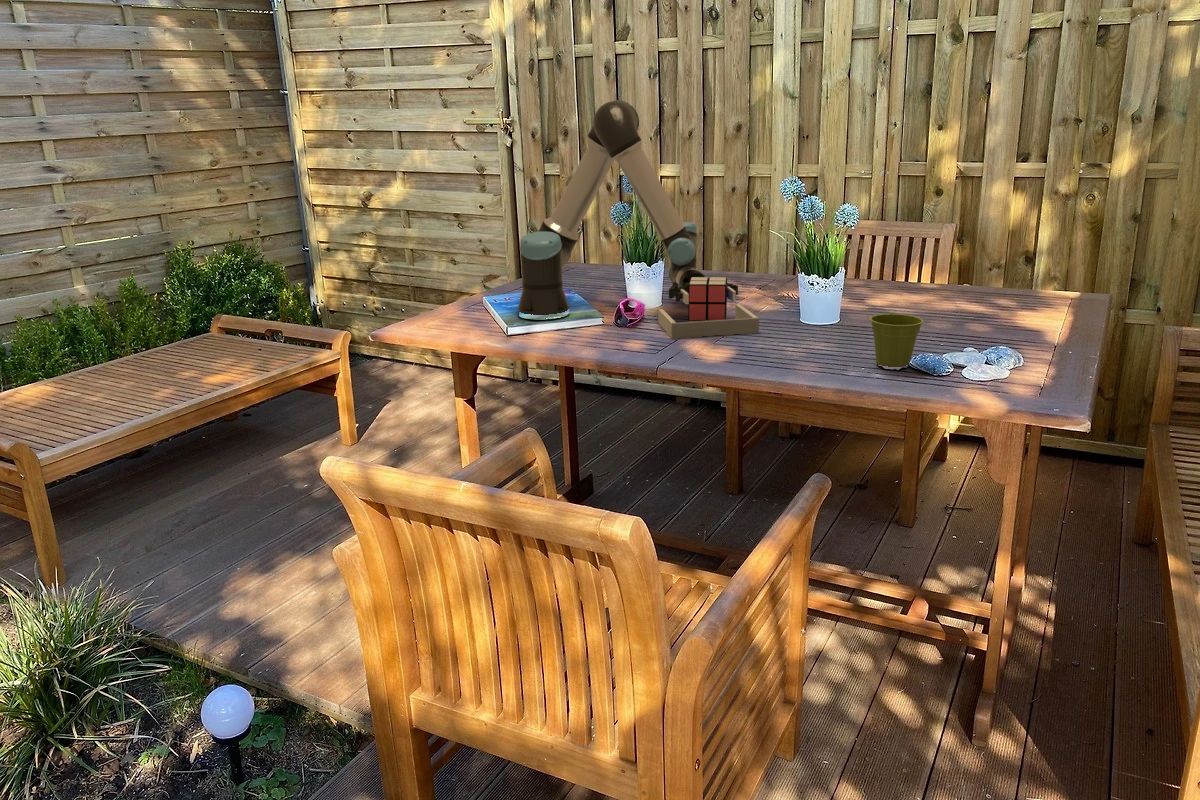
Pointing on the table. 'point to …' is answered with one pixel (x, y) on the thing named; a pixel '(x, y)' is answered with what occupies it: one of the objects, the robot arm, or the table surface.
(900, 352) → the plant pot
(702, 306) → the puzzle cube
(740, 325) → the wooden frame
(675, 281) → the robot arm
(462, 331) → the table surface
